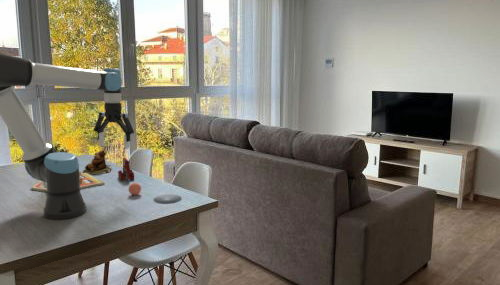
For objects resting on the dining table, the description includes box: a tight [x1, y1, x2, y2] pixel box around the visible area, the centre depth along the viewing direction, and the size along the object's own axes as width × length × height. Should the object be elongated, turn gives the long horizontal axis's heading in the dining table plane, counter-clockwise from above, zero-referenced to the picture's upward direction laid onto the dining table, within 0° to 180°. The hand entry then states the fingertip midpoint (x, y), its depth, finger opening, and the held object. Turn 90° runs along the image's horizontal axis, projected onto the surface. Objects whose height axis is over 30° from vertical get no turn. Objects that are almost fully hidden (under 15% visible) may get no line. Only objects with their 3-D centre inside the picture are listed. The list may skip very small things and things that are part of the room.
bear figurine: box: [81, 149, 112, 175], centre depth 211 cm, size 14×15×12 cm
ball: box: [128, 182, 142, 196], centre depth 172 cm, size 6×6×6 cm
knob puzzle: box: [31, 170, 106, 193], centre depth 187 cm, size 29×30×4 cm
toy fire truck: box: [117, 157, 135, 182], centre depth 197 cm, size 7×12×10 cm, turn 27°
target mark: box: [153, 193, 182, 204], centre depth 167 cm, size 12×12×1 cm
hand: (114, 147), depth 178 cm, fingers open, 13 cm apart
